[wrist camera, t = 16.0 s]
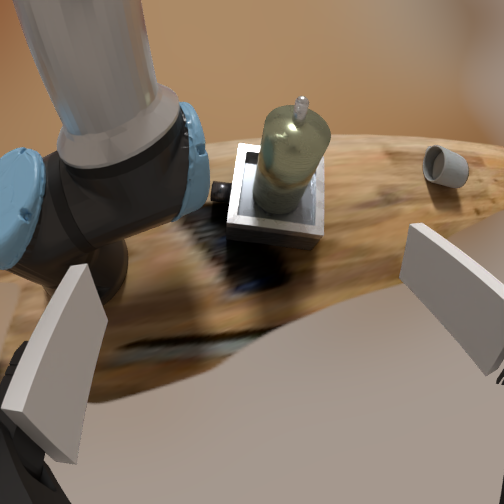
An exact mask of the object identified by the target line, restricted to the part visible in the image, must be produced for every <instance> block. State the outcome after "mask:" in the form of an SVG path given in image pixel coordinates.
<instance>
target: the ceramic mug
mask: <svg viewBox="0 0 504 504" xmlns="http://www.w3.org/2000/svg"><path fill="white" fill-rule="evenodd" d="M423 172H424V176H425V178H426V179H427V180H428V181H430V182H432V183H436V184H440V185H444V186H448V187H451V188H460V187H462V186H463V185H464V184H465V183H466V181H467V179H468V176H469V166H468V163H467V161H466V160H465V159H464V158H463V157H462V156H460V155H459V154H457V153H454V152H452V151H450V150H448V149H446V148H444V147H441V146H438V145H434V146H429V147H428V148H427V150H426V154H425V157H424V161H423Z"/></svg>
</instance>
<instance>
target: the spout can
mask: <svg viewBox="0 0 504 504" xmlns="http://www.w3.org/2000/svg"><path fill="white" fill-rule="evenodd" d="M308 105H309V101H308V99H307V98H306V97H304V96H300V97H298V98H297V99H296V102H295V105H286V106H281V107H278V108H276V109H274V110H273V111H271V112H270V113H269V115H268V116H267V117H266V120H265V124H264V129H263V135H262V140H261V145H260V151H259V156H258V161H257V167H256V172H255V177H254V183H253V188H252V192H253V197H254V199H255V201H256V203H257V204H258V205H259V206H260V207H261V208H262V209H264V210H265V211H267V212H270V213H273V214H285V213H288V212H290V211H292V210H294V209H295V208H296V207H297V206H298V204H299V202H300V200H301V198H302V196H303V195H304V193H305V191H306V189H307V187H308V185H309V183H310V181H311V179H312V177H313V175H314V173H315V171H316V169H317V167H318V165H319V163H320V161H321V159H322V157H323V155H324V153H325V151H326V149H327V147H328V145H329V142H330V139H331V133H330V129H329V127H328V125H327V123H326V122H325V120H324V119H323V118H322V117H321V116H320V115H318V114H317V113H315V112H314V111H312V110H310V109H308Z"/></svg>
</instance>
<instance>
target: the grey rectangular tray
mask: <svg viewBox="0 0 504 504" xmlns="http://www.w3.org/2000/svg"><path fill="white" fill-rule="evenodd" d="M259 151H260V146H255V145H248V144H240V143H239V147H238V153H237V159H236V165H235V172H234V178H233V183H226V182H218V181H213V184H212V189H211V201H216V202H224V203H229V210H228V217H227V229H226V239H227V240H235V241H243V242H251V243H259V244H266V245H274V246H282V247H289V248H297V249H304V250H312V248H313V247H314V246H315V245H316V244H317V243H318V242H319V240H320V239H321V238H322V237H323V236H324V157H322V159H321V161H320V163H319V165H318V167H317V169H316V171H315V173H314V175H313V177H312V179H311V181H310V183H309V185H308V187H307V189H306V191H305V193H304V195H303V196H302V198H301V200H300V202H299V204H298V206H297V207H296V208H295V209H294V210H292V211H290V212H288V213H285V214H273V213H270V212H267V211H265V210H264V209H262V208H261V207H260V206H259V205H258V204H257V203H256V201H255V199H254V197H253V192H252V188H253V183H254V177H255V172H256V167H257V161H258V156H259Z"/></svg>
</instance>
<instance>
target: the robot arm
mask: <svg viewBox="0 0 504 504" xmlns="http://www.w3.org/2000/svg"><path fill="white" fill-rule="evenodd" d="M13 3H14V6H15V9H16V12H17V15H18V18H19V21H20V24H21V27H22V30H23V33H24V36H25V38H26V41H27V44H28V46H29V49H30V51H31V54H32V56H33V59H34V62H35V64H36V66H37V69H38V71H39V74H40V76H41V78H42V81H43V83H44V85H45V87H46V89H47V91H48V94H49V96H50V98H51V101H52V103H53V104H54V107H55V109H56V111H57V113H58V115H59V117H60V119H61V121H62V123H63V126H62V129H61V131H60V133H59V137H58V140H57V151H55V152H53V153H51V154H49V155H47V156H45V157H43V158H42V157H41V155H40V154H39V153H38V152H37V151H34V150H32V149H26V148H24V147H23V148H16V149H14V150H12V151H10V152H8V153H6V154H5V155H4V156H3V157H1V158H0V269H1V270H6V271H9V272H11V273H13V274H16V275H18V276H20V277H23V278H25V279H27V280H30V281H32V282H35V283H37V284H39V285H42V286H43V288H44V289H45V290H46V292H47V293H48V294H49V295H50V297H51V300H50V302H49V303H48V305H47V307H46V309H45V311H44V313H43V314H42V316H41V318H40V320H39V322H38V324H37V326H36V328H35V330H34V332H33V334H32V336H31V338H30V340H29V341H24V342H23V343H22V345H21V346H20V347H19V348H18V349H17V350H16V351H15V353H14V355H13V357H12V359H11V361H10V363H9V364H10V366H8V368H7V370H6V372H5V376H4V377H3V379H2V381H1V384H0V504H71V503H70V501H69V500H68V498H67V497H66V495H65V493H64V492H63V490H62V489H61V487H60V485H59V484H58V482H57V480H56V478H55V477H54V475H53V473H52V471H51V469H50V468H49V466H48V465H47V464H46V463H45V461H44V456H45V453H46V454H48V455H49V456H50V457H51V458H52V459H53V460H55V461H56V462H63V463H69V464H77V458H78V451H79V445H80V439H81V431H82V427H83V421H84V416H85V411H86V406H87V401H88V397H89V392H90V387H91V383H92V379H93V375H94V371H95V366H96V363H97V359H98V355H99V351H100V347H101V344H102V340H103V336H104V333H105V329H106V326H107V323H108V319H107V316H106V314H105V311H104V309H103V306H102V305H104V304H105V303H107V302H108V301H109V300H110V299H111V298H112V297H113V296H114V295H115V294H116V293H117V291H118V290H119V288H120V287H121V285H122V283H123V281H124V278H125V275H126V271H127V266H128V251H127V246H126V243H125V240H124V239H125V238H128V237H131V236H133V235H136V234H139V233H141V232H144V231H147V230H149V229H152V228H155V227H158V226H160V225H163V224H166V223H169V222H174V221H177V220H178V219H179V218H180V217H181V216H184V215H186V214H188V213H191V212H193V211H195V210H198V209H199V208H200V207H202V206H203V204H204V203H205V202H206V200H207V197H208V194H209V188H210V168H209V159H208V154H207V152H206V150H205V137H204V133H203V129H202V126H201V123H200V120H199V118H198V115H197V113H196V111H195V110H194V108H193V107H192V106H191V105H190V104H189V103H186V102H179V100H178V97H177V95H176V93H175V92H174V91H173V90H171V89H170V88H168V87H166V86H164V85H161V84H159V83H157V80H156V76H155V71H154V67H153V62H152V57H151V52H150V47H149V42H148V36H147V31H146V26H145V20H144V15H143V9H142V3H141V0H13ZM399 279H400V280H401V281H402V282H403V283H404V284H405V285H406V286H407V287H408V288H409V289H410V290H411V291H412V292H413V293H414V294H415V295H416V296H417V297H418V298H419V299H420V300H421V302H422V303H423V304H424V305H425V306H426V307H427V308H428V309H429V310H430V311H431V312H432V314H433V315H434V316H435V317H436V318H437V319H438V320H439V321H440V322H441V324H442V325H444V327H445V328H446V329H447V330H448V332H449V333H450V334H451V335H452V336H453V337H454V338H455V340H456V341H457V342H458V343H459V344H460V345H461V346H462V348H463V349H464V350H465V351H466V353H467V354H468V355H469V356H470V357H471V359H472V360H473V361H474V362H475V364H476V365H477V366H478V367H479V369H480V370H481V371H482V372H483V373H484V375H485V376H487V375H489V374H490V373H492V372H494V371H495V370H497V369H498V368H499V366H500V364H501V363H502V361H503V359H504V284H502V283H501V282H500V281H499V280H498V279H496V278H495V277H494V276H493V275H492V274H490V273H489V272H488V271H486V270H485V269H484V268H483V267H482V266H480V265H479V264H478V263H477V262H475V261H474V260H472V259H471V258H470V257H469V256H467V255H466V254H465V253H464V252H462V251H461V250H460V249H458V248H457V247H456V246H454V245H453V244H452V243H450V242H449V241H447V240H446V239H445V238H443V237H442V236H440V235H439V234H438V233H436V232H435V231H433V230H432V229H430V228H429V227H428V226H426V225H425V224H423V223H416V224H409V230H408V236H407V242H406V247H405V252H404V257H403V262H402V267H401V271H400V276H399ZM503 377H504V369H503V371H502V372H501V374H500V375H499V377H498V378H497V381H496V384H499V382H500V381H501V379H502V378H503ZM502 385H504V380H503V382H502ZM499 504H504V477H503V484H502V491H501V497H500V503H499Z"/></svg>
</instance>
